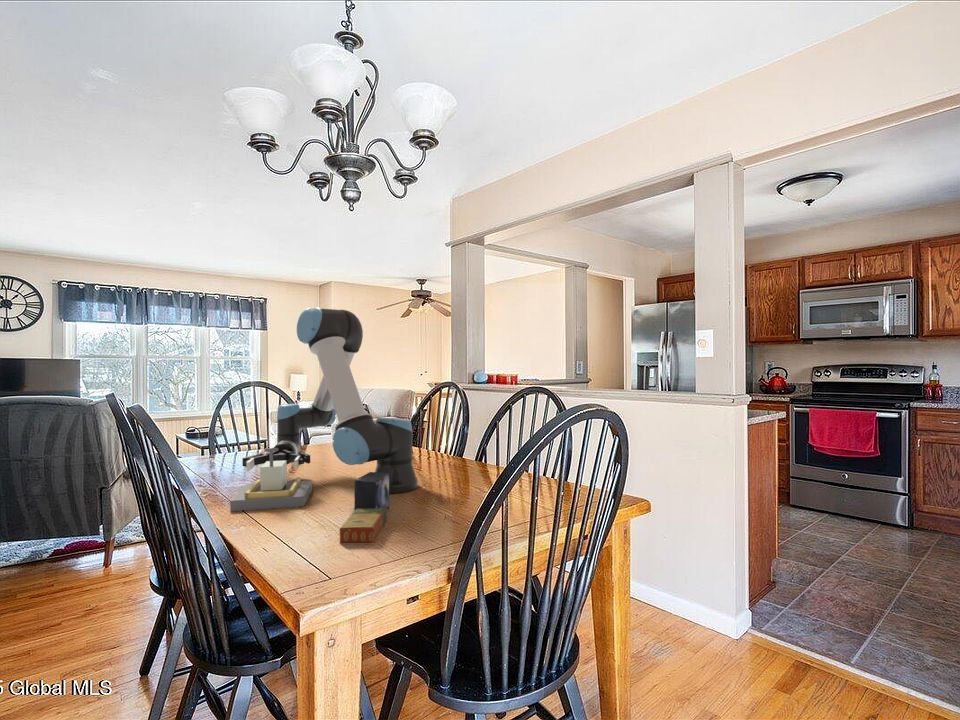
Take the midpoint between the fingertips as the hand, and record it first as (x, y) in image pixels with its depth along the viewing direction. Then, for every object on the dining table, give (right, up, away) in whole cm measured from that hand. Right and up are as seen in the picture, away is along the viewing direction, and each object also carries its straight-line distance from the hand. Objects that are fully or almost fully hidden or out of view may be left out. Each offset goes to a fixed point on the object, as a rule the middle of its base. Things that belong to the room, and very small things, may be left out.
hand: (271, 465), depth 156 cm
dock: (0, -11, +3) cm, 11 cm away
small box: (+33, -11, -12) cm, 37 cm away
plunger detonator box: (-1, -8, +3) cm, 9 cm away
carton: (+34, -12, -27) cm, 45 cm away
